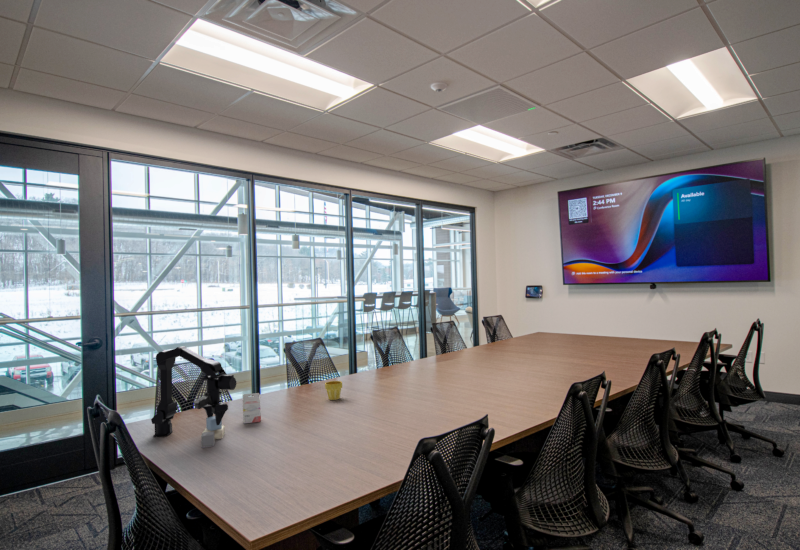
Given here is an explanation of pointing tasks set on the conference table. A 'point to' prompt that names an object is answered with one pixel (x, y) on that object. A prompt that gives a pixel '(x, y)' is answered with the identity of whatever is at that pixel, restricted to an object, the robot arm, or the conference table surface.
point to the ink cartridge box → (251, 408)
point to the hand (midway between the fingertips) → (213, 423)
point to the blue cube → (212, 424)
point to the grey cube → (207, 439)
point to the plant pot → (333, 389)
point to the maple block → (217, 432)
